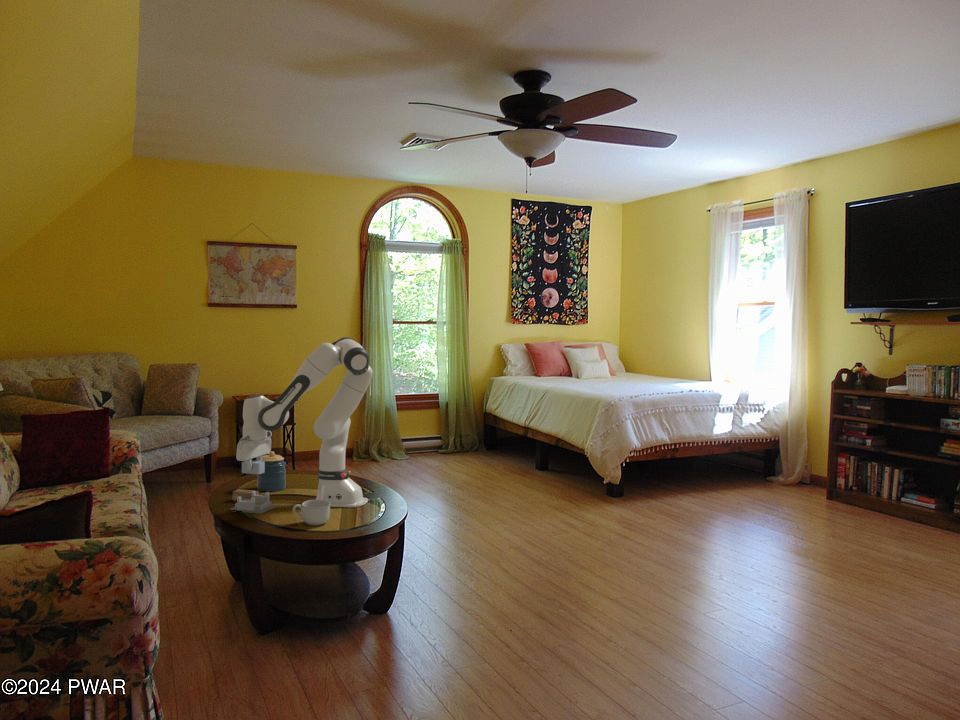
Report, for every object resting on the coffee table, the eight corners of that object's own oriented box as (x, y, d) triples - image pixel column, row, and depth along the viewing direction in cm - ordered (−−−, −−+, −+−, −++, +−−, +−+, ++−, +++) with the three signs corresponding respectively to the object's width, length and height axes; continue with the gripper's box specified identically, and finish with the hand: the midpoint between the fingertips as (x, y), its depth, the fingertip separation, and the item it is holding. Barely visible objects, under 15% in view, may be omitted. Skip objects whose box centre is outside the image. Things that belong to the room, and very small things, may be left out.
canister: (252, 491, 306) (252, 453, 306) (262, 485, 319) (262, 448, 319) (280, 492, 306) (280, 454, 305) (289, 486, 319) (289, 449, 318)
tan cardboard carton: (238, 499, 292) (238, 489, 292) (258, 501, 289) (258, 490, 289) (232, 501, 288) (232, 491, 288) (253, 503, 285) (253, 493, 285)
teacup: (332, 519, 261) (332, 499, 261) (327, 527, 251) (327, 506, 250) (296, 519, 261) (297, 499, 261) (289, 527, 250) (290, 506, 250)
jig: (276, 506, 279) (276, 492, 279) (260, 514, 268) (260, 499, 268) (246, 504, 283) (246, 490, 283) (229, 511, 271) (229, 496, 271)
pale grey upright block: (264, 472, 275) (264, 461, 275) (259, 474, 272) (259, 463, 271) (247, 471, 277) (247, 460, 277) (241, 472, 273) (241, 462, 273)
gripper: (246, 438, 263) (246, 473, 263) (274, 431, 283) (273, 464, 283) (232, 437, 264) (232, 472, 265) (260, 431, 284) (260, 463, 285)
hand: (253, 468), depth 274 cm, fingers closed on pale grey upright block, 4 cm apart
